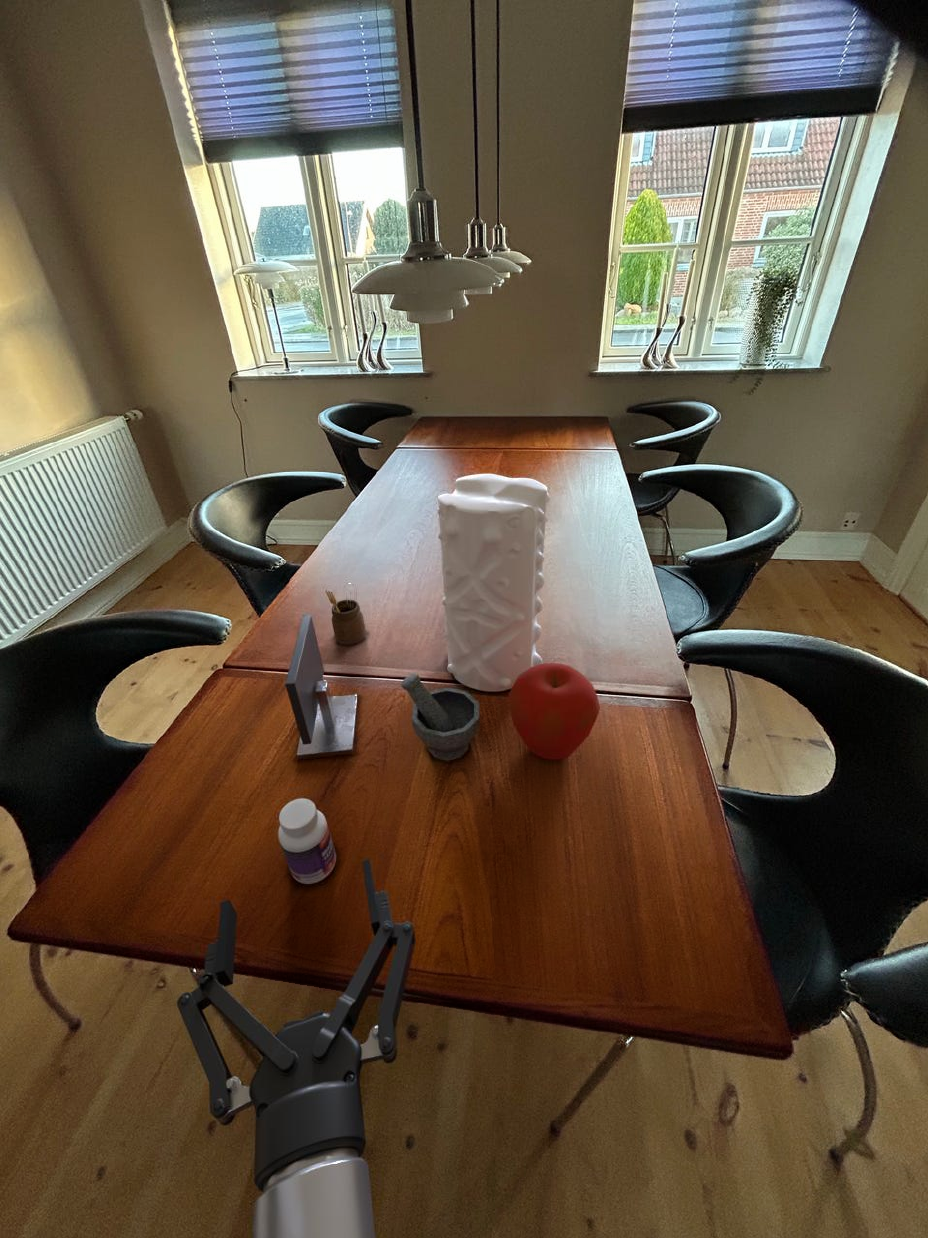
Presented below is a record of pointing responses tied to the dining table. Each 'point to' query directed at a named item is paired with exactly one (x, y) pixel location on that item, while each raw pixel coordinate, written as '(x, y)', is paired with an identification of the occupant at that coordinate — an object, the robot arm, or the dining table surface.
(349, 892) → the dining table surface
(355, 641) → the utensil holder
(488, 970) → the dining table surface
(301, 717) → the monitor screen
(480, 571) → the vase
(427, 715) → the mortar and pestle
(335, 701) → the monitor stand
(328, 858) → the pill bottle
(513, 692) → the apple
